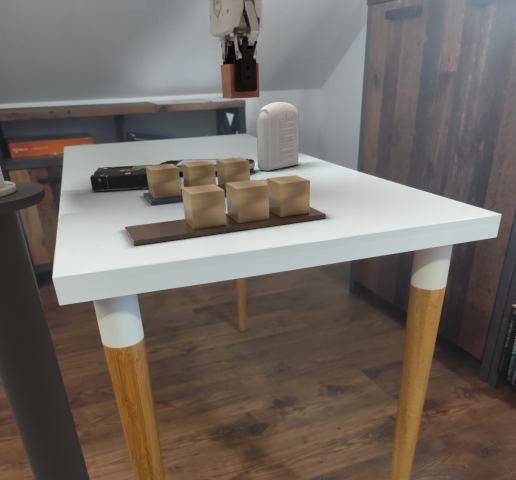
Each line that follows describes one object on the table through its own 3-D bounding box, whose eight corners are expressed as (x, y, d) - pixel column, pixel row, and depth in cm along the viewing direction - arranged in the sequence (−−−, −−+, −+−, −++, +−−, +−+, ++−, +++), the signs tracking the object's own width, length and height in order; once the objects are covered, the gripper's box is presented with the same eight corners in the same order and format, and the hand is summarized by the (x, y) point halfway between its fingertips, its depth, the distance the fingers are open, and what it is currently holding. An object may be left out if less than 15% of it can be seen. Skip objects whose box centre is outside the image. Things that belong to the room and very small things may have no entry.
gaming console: (155, 178, 98) (154, 164, 97) (167, 169, 106) (166, 157, 104) (252, 176, 96) (251, 162, 95) (256, 168, 104) (256, 155, 102)
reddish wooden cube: (231, 98, 71) (229, 64, 69) (222, 97, 75) (220, 64, 73) (259, 97, 73) (258, 63, 71) (249, 96, 76) (248, 63, 74)
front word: (134, 245, 59) (127, 203, 57) (125, 231, 65) (119, 192, 62) (325, 218, 67) (327, 180, 65) (303, 207, 73) (303, 172, 70)
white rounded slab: (285, 163, 108) (285, 100, 102) (301, 164, 106) (301, 100, 100) (254, 170, 101) (252, 103, 95) (270, 172, 99) (269, 104, 93)
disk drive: (92, 193, 87) (176, 187, 89) (89, 177, 86) (174, 170, 87) (100, 182, 96) (176, 176, 98) (97, 167, 95) (174, 161, 96)
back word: (151, 205, 77) (147, 172, 75) (143, 196, 83) (139, 165, 80) (290, 188, 85) (290, 158, 82) (274, 181, 90) (273, 152, 88)
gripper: (189, -52, 70) (201, 91, 79) (225, -85, 57) (234, 93, 65) (239, -50, 73) (245, 89, 82) (285, -81, 59) (286, 91, 68)
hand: (240, 89), depth 73 cm, fingers closed on reddish wooden cube, 4 cm apart
